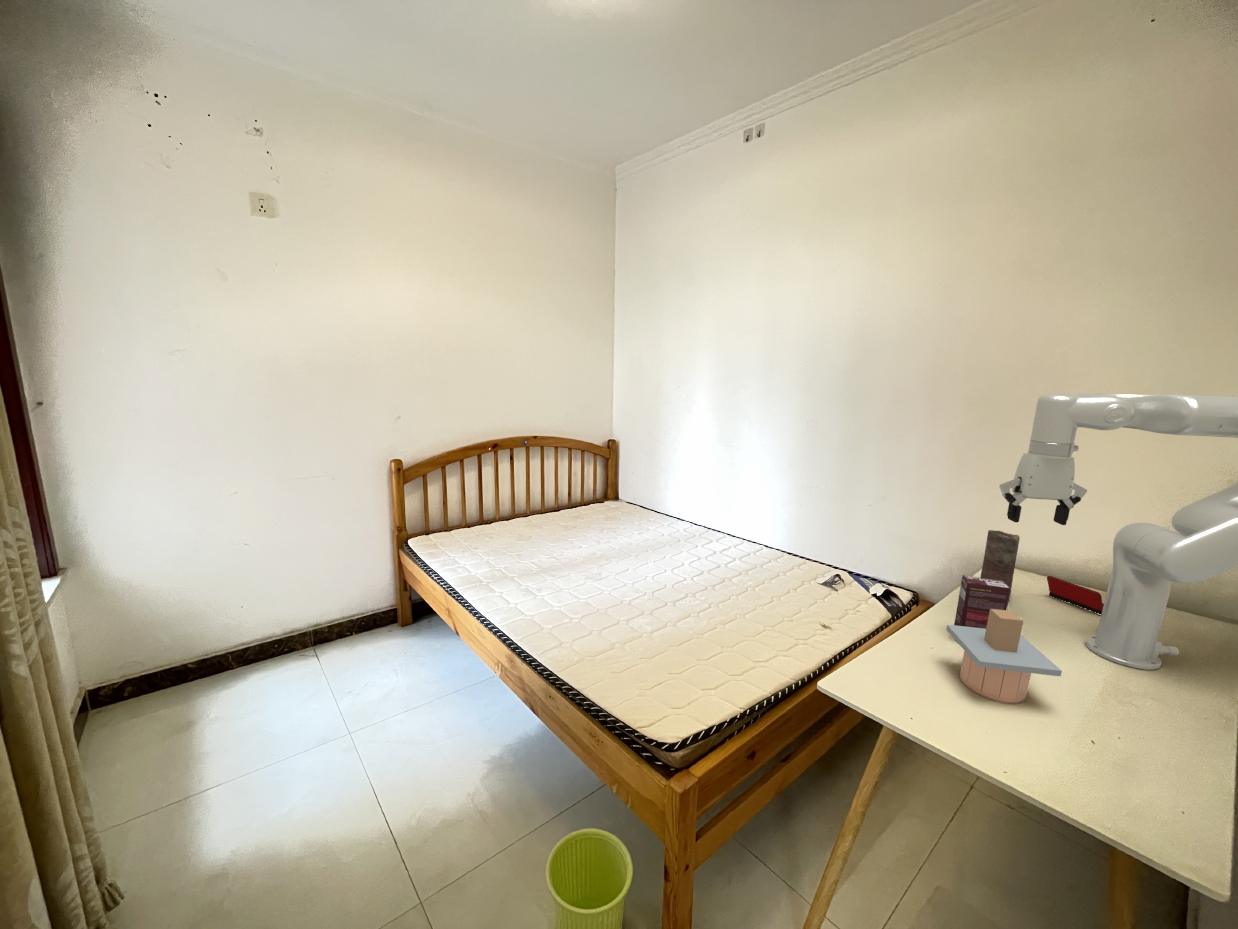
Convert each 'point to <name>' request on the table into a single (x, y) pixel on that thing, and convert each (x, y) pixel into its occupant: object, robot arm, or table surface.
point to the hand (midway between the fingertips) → (1036, 522)
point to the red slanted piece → (1075, 594)
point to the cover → (1002, 645)
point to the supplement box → (980, 600)
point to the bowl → (994, 682)
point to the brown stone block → (1000, 557)
